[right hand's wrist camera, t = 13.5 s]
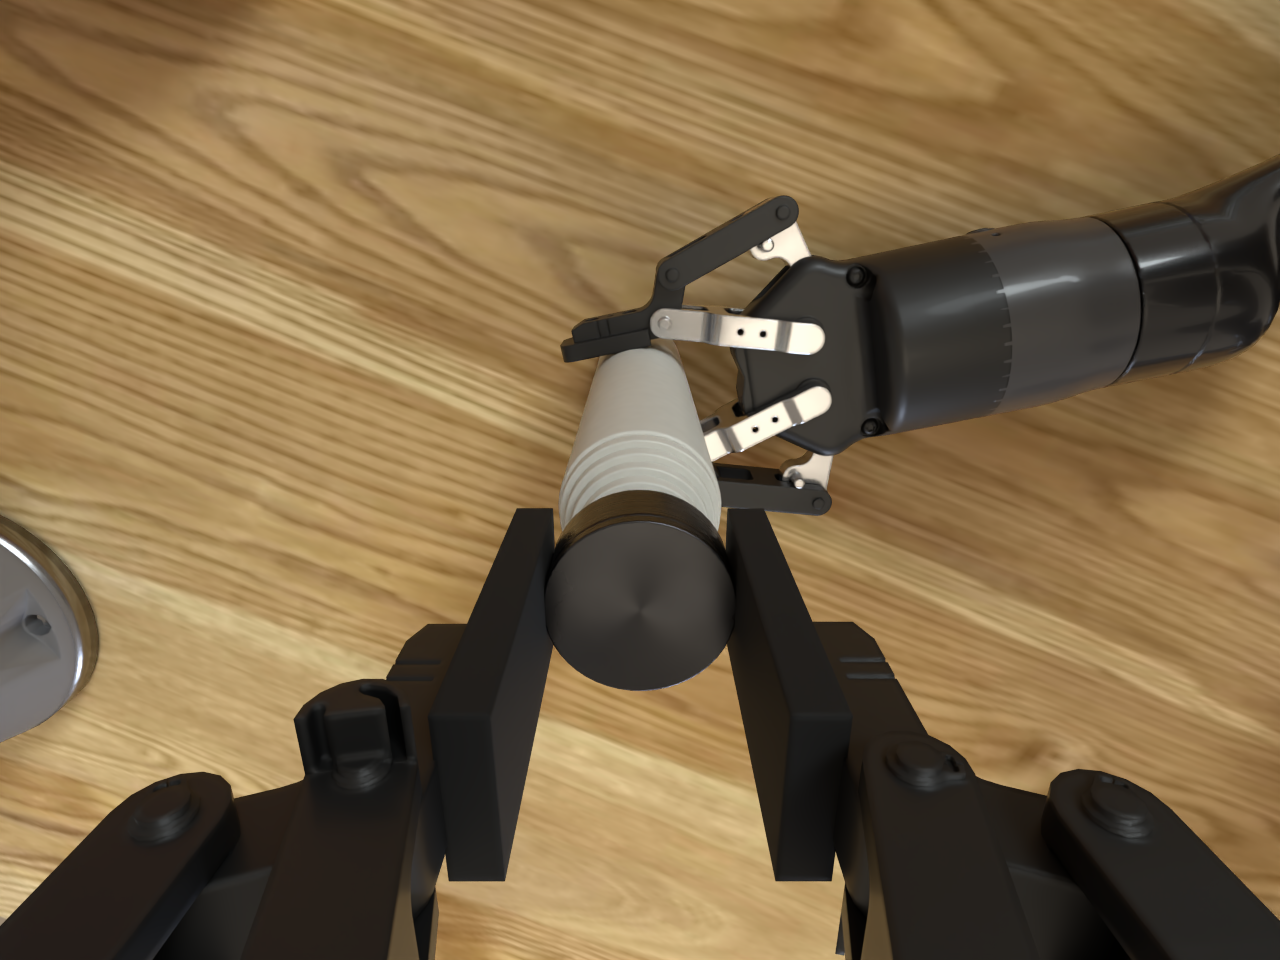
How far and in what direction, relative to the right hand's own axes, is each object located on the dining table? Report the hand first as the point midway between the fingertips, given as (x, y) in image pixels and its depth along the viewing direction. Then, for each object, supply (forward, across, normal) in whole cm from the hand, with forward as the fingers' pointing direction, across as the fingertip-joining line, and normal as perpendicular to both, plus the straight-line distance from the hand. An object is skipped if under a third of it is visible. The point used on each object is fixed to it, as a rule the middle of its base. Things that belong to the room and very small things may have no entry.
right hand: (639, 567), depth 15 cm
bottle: (+23, 0, 0) cm, 23 cm away
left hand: (+16, -3, -1) cm, 16 cm away
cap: (-1, 0, 0) cm, 1 cm away
